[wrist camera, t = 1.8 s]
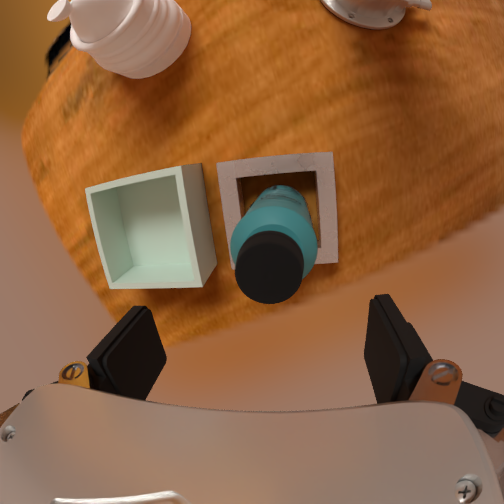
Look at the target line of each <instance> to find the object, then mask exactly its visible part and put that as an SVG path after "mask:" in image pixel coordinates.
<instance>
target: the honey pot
mask: <svg viewBox="0 0 504 504" xmlns="http://www.w3.org/2000/svg"><path fill="white" fill-rule="evenodd" d="M68 16H69V18H70V21H71V24H72V26H71V30H70V39H71V42H72V44H73V46H74V47H75V48H76V49H78V50H80V51H84V52H88V53H89V54H90V55H91V56H92V57H93V58H94V59H95V61H96V62H97V63H98V64H99V65H100V66H101V67H102V68H104V69H106V70H109V71H112V72H114V73H117V74H120V75H123V76H126V77H128V78H131V79H142V78H146V77H151V76H153V75H155V74H157V73H160V72H162V71H163V70H165V69H166V68H167V67H169V66H170V65H172V64H173V63H174V62H175V61H176V59H177V58H178V57H179V56H180V55H181V54H182V52H183V51H184V49H185V48H186V46H187V44H188V41H189V38H190V36H191V23H190V20H189V17H188V16H187V15H186V13H185V12H184V11H183V10H182V9H181V8H180V6H179V5H178V4H177V3H176V2H175V1H174V0H71V2H69V1H68V0H59V1H58V2H56V3H55V4H54V5H53V7H52V8H51V9H50V11H49V13H48V16H47V19H48V20H49V21H61V20H63V19H65V18H67V17H68Z"/></svg>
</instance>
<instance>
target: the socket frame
mask: <svg viewBox="0 0 504 504" xmlns="http://www.w3.org/2000/svg"><path fill="white" fill-rule="evenodd" d="M216 164H217V172H218V179H219V186H220V193H221V200H222V207H223V214H224V221H225V228H226V234H227V241H228V248H229V254H230V261H231V267H232V269H235V264H234V262H233V259H232V256H231V251H230V241H231V236H232V233H233V231H234V229H235V227H236V225H237V224H238V222H239V221H240V220H241V219H242V217H244V216H245V209H244V201H243V193H242V185H241V178H240V177H248V176H257V175H267V174H277V173H289V172H302V171H314V177H315V188H316V201H317V216H318V234H319V240H317V245H318V252H317V258H316V261H315V263H314V264H324V263H337V262H338V231H337V207H336V190H335V176H334V164H333V153H332V152H318V153H303V154H290V155H278V156H268V157H259V158H250V159H242V160H234V161H227V162H220V163H216ZM243 214H244V215H243Z"/></svg>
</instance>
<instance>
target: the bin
mask: <svg viewBox="0 0 504 504" xmlns="http://www.w3.org/2000/svg"><path fill="white" fill-rule="evenodd" d="M85 192H86V197H87V203H88V208H89V212H90V217H91V222H92V226H93V230H94V235H95V239H96V243H97V247H98V250H99V254H100V258H101V261H102V265H103V268H104V272H105V275H106V278H107V281H108V284H109V288H110V289H146V288H190V287H203V286H204V284H205V282H206V281H207V279H208V278H209V276H210V274H211V273H212V271H213V270H214V268H215V267H216V265H217V259H216V254H215V248H214V242H213V236H212V230H211V224H210V217H209V211H208V204H207V198H206V191H205V184H204V177H203V170H202V163H198V164H190V165H183V166H177V167H172V168H167V169H162V170H157V171H152V172H148V173H143V174H139V175H135V176H130V177H126V178H122V179H118V180H114V181H110V182H107V183H103V184H99V185H96V186H92V187H88V188H85Z"/></svg>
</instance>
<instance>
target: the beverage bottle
mask: <svg viewBox="0 0 504 504" xmlns="http://www.w3.org/2000/svg"><path fill="white" fill-rule="evenodd" d="M283 185H284V184H283ZM283 185H278V186H277V185H275V186H274V185H273V187H269V188H267V189H266V190H265V189H264V190H265V191H264V190H263V191H264V192H263V193H261V195H260V196H259V197H258V196H257V197H258V198H257V200H256V201H255V202H253V204H252V205H251V206H249V207H250V209H249V210H248V211H247V213H246V215H245V216H244V217H242V219H241V220H240V221H239V222H238V224H237V225H236V227H235V229H234V231H233V233H232V236H231V241H230V251H231V256H232V259H233V262H234V264H235V277H236V281H237V283H238V286H239V287H240V289H241V290H242V292H243V293H244V294H245V295H246V296H247V297H249V298H250V299H252V300H254V301H257V302H260V303H264V304H275V303H279V302H282V301H285V300H287V299H288V298H290V297H291V296H292V295H293V294H294V293H295V292H296V291H297V290H298V288H299V286H300V284H301V281H302V279H303V278H304V277H305V276H306V275H307V274H308V273H309V272H310V271H311V269H312V267H313V266H314V263H315V261H316V258H317V252H318V245H317V239H316V235H315V232H314V230H313V226H312V225H313V223H312V222H311V219H312V218H311V217H310V213H309V212H308V209H307V205H308V204H307V205H306V202H305V201H306V199H305V198H304V197H302V196H303V195H302V194H300V192H298V191H296V190H295V189H293V188H294V187H289V186H283ZM301 195H302V196H301ZM308 208H309V207H308ZM247 209H248V208H247ZM243 215H244V214H243Z"/></svg>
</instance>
